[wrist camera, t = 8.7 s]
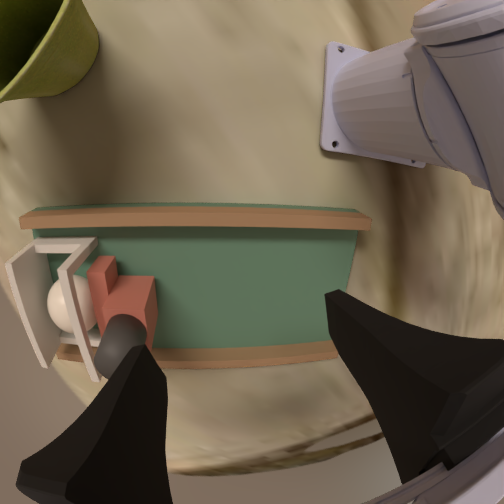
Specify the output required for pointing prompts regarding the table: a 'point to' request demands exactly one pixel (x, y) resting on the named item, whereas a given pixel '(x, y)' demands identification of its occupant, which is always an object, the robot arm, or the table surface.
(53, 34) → the plant pot
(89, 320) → the ball
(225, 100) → the table surface
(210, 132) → the table surface
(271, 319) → the pitch
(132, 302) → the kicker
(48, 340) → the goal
